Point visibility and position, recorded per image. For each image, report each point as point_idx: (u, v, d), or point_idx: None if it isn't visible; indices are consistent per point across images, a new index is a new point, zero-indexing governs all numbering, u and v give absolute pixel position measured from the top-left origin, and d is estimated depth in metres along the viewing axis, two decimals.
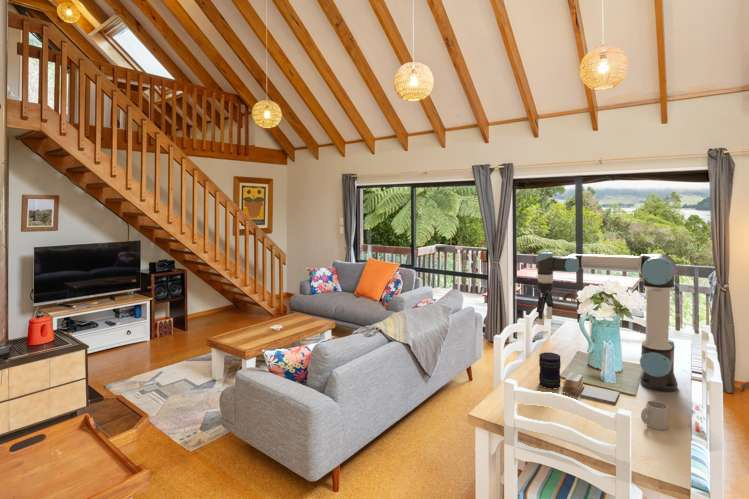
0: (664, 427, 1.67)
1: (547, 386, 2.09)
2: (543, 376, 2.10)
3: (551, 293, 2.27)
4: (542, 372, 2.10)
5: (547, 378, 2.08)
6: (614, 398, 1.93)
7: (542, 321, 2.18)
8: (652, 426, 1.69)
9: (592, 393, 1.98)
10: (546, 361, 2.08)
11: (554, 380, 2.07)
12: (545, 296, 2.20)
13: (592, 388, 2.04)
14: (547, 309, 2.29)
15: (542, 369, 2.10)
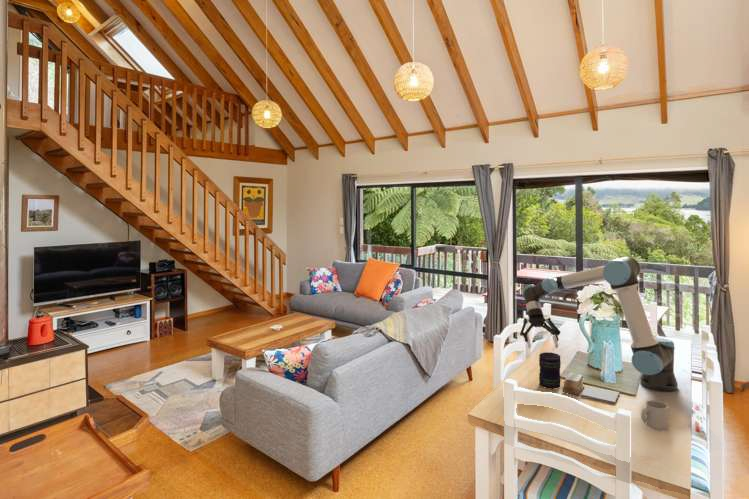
0: (664, 427, 1.67)
1: (547, 386, 2.09)
2: (543, 376, 2.10)
3: (551, 321, 2.26)
4: (542, 372, 2.10)
5: (547, 378, 2.08)
6: (614, 398, 1.93)
7: (528, 343, 2.20)
8: (652, 426, 1.69)
9: (592, 393, 1.98)
10: (546, 361, 2.08)
11: (554, 380, 2.07)
12: (531, 321, 2.27)
13: (592, 388, 2.04)
14: (553, 338, 2.22)
15: (542, 369, 2.10)
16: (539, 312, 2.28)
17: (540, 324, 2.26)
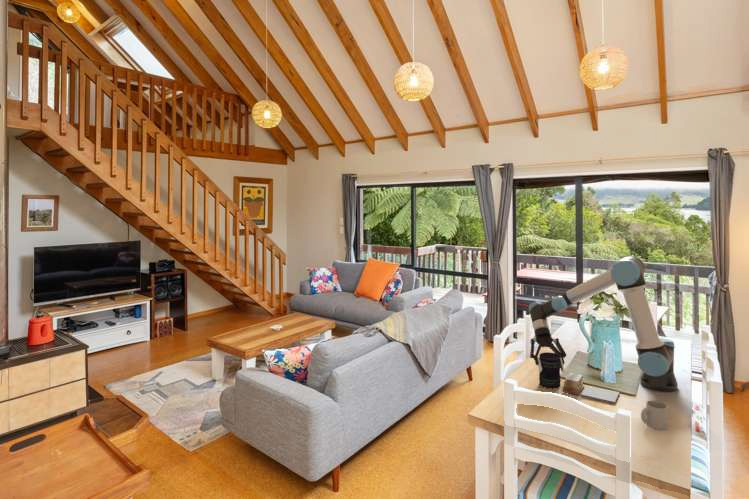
0: (664, 427, 1.67)
1: (547, 386, 2.09)
2: (543, 376, 2.10)
3: (558, 342, 2.16)
4: (542, 372, 2.10)
5: (547, 378, 2.08)
6: (614, 398, 1.93)
7: (539, 366, 2.10)
8: (652, 426, 1.69)
9: (592, 393, 1.98)
10: (546, 361, 2.08)
11: (554, 380, 2.07)
12: (538, 341, 2.18)
13: (592, 388, 2.04)
14: None
15: (542, 369, 2.10)
16: (546, 331, 2.18)
17: (548, 344, 2.16)
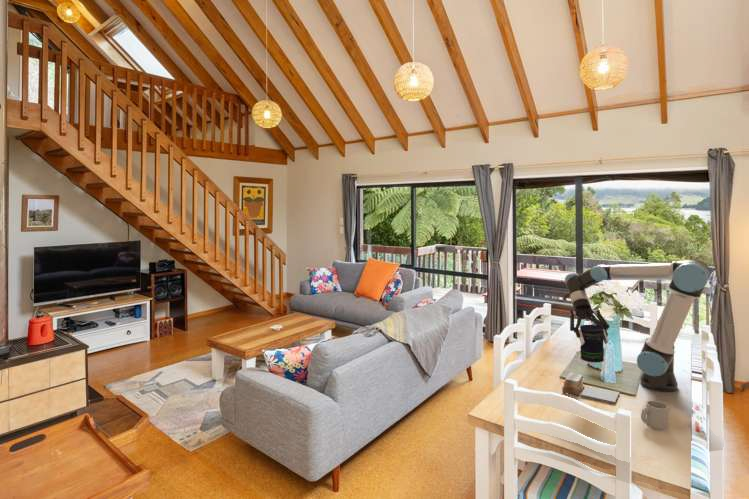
0: (664, 427, 1.67)
1: (590, 359, 1.95)
2: (585, 349, 1.96)
3: (600, 314, 2.03)
4: (584, 345, 1.97)
5: (590, 351, 1.95)
6: (614, 398, 1.93)
7: (581, 339, 1.97)
8: (652, 426, 1.69)
9: (592, 393, 1.98)
10: (589, 333, 1.94)
11: (598, 353, 1.94)
12: (578, 313, 2.05)
13: (592, 388, 2.04)
14: None
15: None
16: (586, 303, 2.05)
17: (588, 316, 2.03)
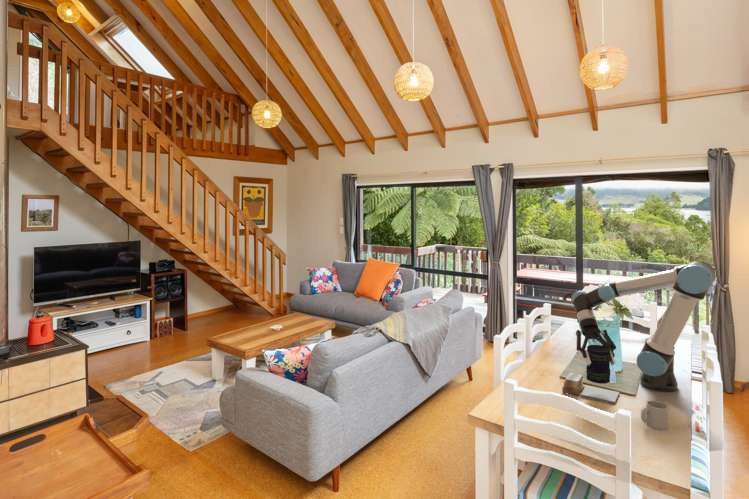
0: (664, 427, 1.67)
1: (596, 380, 1.95)
2: (592, 370, 1.96)
3: (607, 334, 2.02)
4: (590, 365, 1.96)
5: (596, 372, 1.94)
6: (614, 398, 1.93)
7: (587, 359, 1.96)
8: (652, 426, 1.69)
9: (592, 393, 1.98)
10: (596, 354, 1.94)
11: (604, 374, 1.93)
12: (585, 333, 2.04)
13: (592, 388, 2.04)
14: None
15: (591, 362, 1.96)
16: (594, 322, 2.04)
17: (595, 336, 2.02)
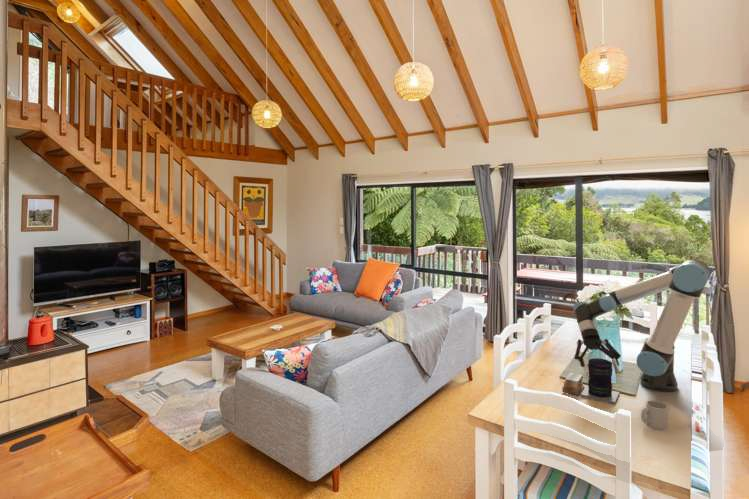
0: (664, 427, 1.67)
1: (598, 395, 1.95)
2: (593, 384, 1.96)
3: (609, 343, 2.03)
4: (592, 379, 1.96)
5: (598, 386, 1.94)
6: (614, 398, 1.93)
7: (585, 368, 1.96)
8: (652, 426, 1.69)
9: None
10: (597, 368, 1.94)
11: (606, 388, 1.94)
12: (587, 343, 2.04)
13: None
14: (612, 363, 1.99)
15: (592, 376, 1.96)
16: (595, 333, 2.04)
17: (597, 346, 2.02)
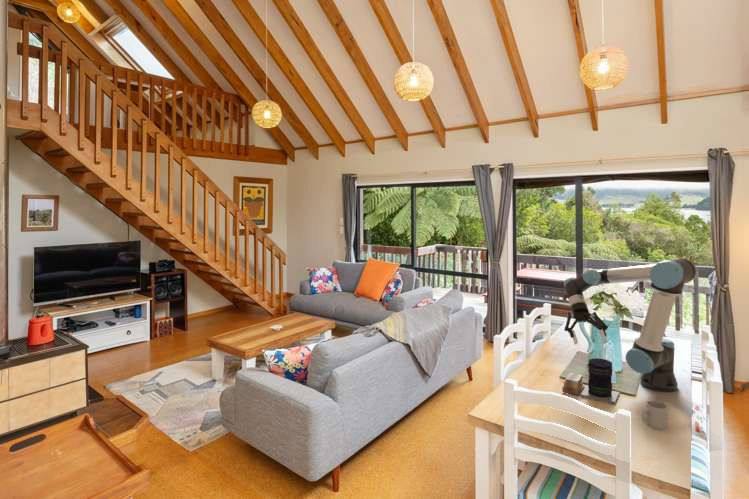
0: (664, 427, 1.67)
1: (598, 395, 1.95)
2: (593, 384, 1.96)
3: (597, 316, 2.14)
4: (592, 379, 1.96)
5: (598, 386, 1.94)
6: (614, 398, 1.93)
7: (574, 338, 2.08)
8: (652, 426, 1.69)
9: None
10: (597, 368, 1.94)
11: (606, 388, 1.94)
12: (576, 316, 2.15)
13: None
14: (600, 334, 2.10)
15: (592, 376, 1.96)
16: (584, 306, 2.16)
17: (586, 319, 2.14)
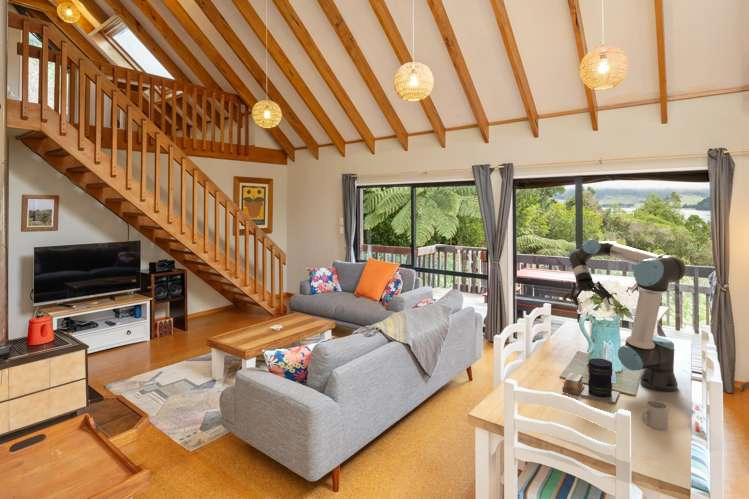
0: (664, 427, 1.67)
1: (598, 395, 1.95)
2: (593, 384, 1.96)
3: (601, 285, 2.21)
4: (592, 379, 1.96)
5: (598, 386, 1.94)
6: (614, 398, 1.93)
7: (579, 306, 2.15)
8: (652, 426, 1.69)
9: None
10: (597, 368, 1.94)
11: (606, 388, 1.94)
12: (581, 285, 2.22)
13: None
14: (604, 302, 2.17)
15: (592, 376, 1.96)
16: (588, 276, 2.23)
17: (590, 288, 2.21)
